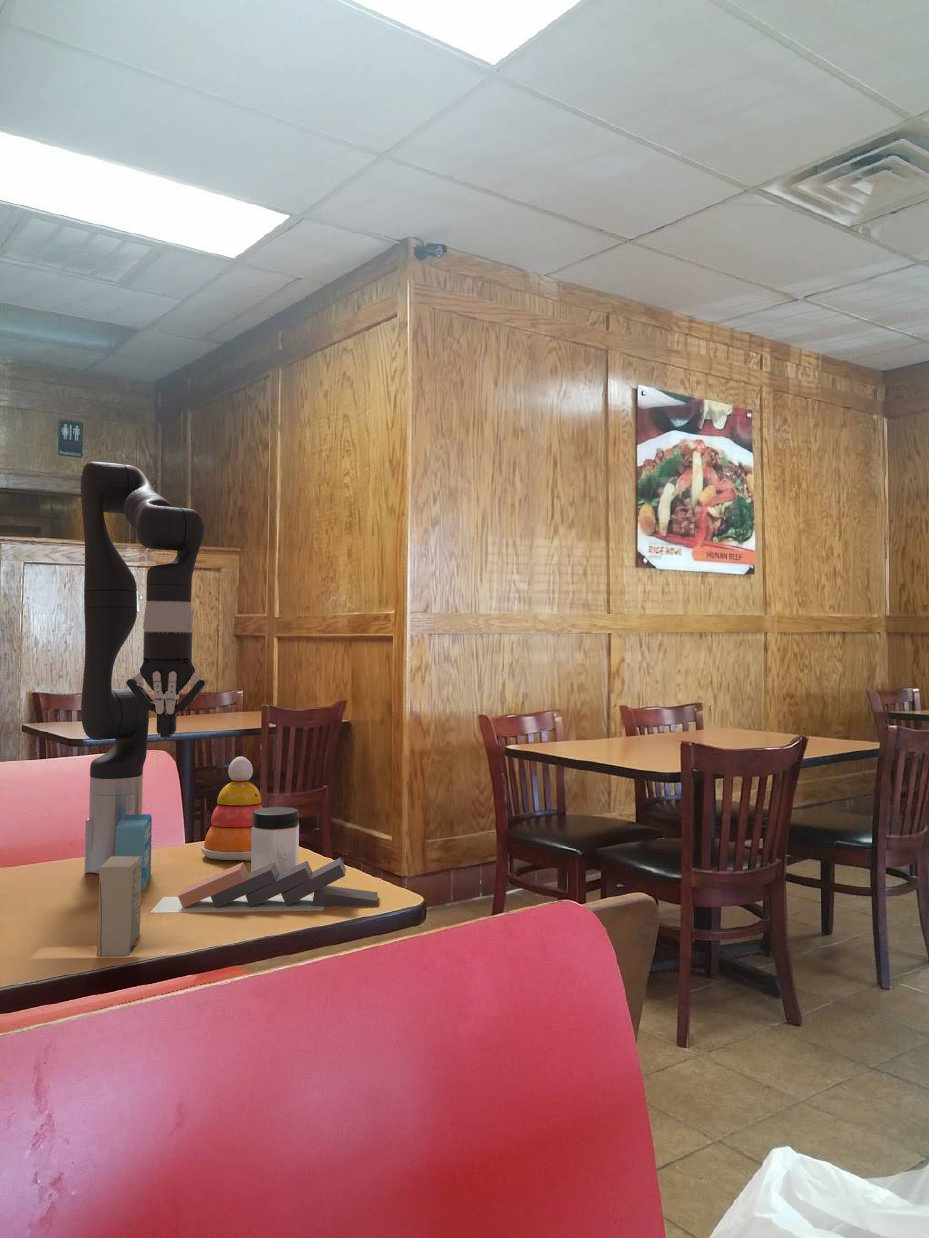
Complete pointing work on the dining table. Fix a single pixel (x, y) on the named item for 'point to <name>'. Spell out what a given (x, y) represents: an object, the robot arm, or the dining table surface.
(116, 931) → the skincare box
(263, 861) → the jar
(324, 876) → the tile
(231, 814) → the stacking toy
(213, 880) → the brick tile
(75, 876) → the dining table surface
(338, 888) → the tile
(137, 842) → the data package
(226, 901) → the tile
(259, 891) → the tile
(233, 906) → the white flat strip
